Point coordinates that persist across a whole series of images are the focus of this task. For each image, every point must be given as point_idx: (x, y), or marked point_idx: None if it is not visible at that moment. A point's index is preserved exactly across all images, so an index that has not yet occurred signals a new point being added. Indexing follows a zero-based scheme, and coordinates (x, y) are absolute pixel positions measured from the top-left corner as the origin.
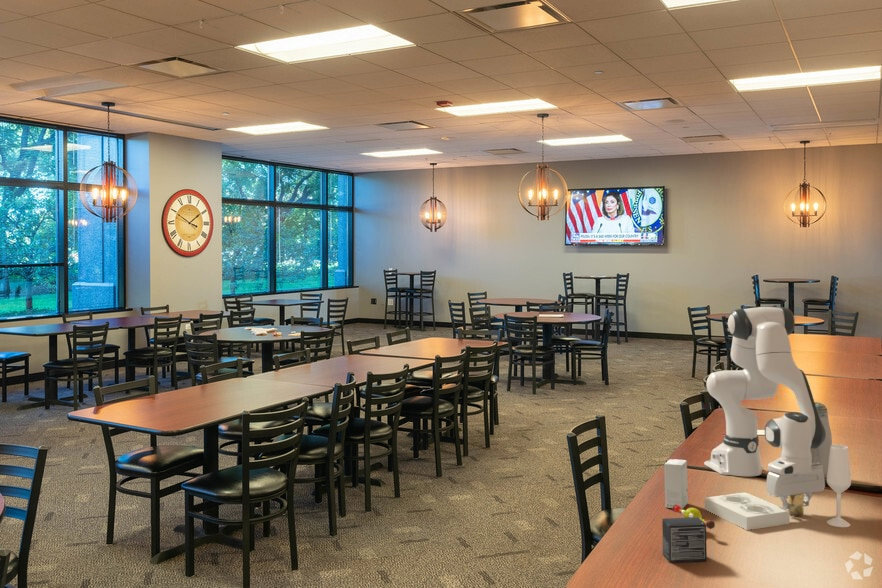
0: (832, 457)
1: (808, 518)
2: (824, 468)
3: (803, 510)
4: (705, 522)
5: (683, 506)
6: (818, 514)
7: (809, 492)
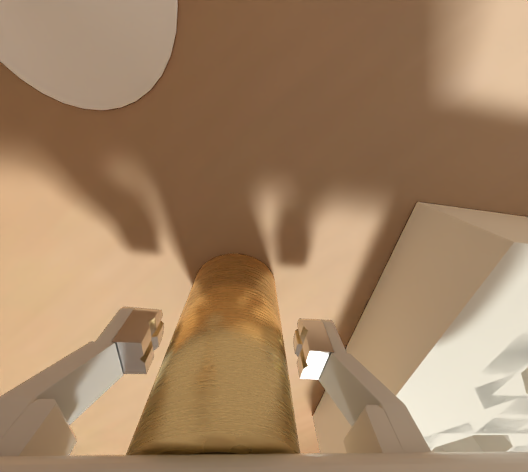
0: None
1: (222, 214)
2: None
3: (205, 280)
4: None
5: None
6: (97, 235)
7: (13, 461)
